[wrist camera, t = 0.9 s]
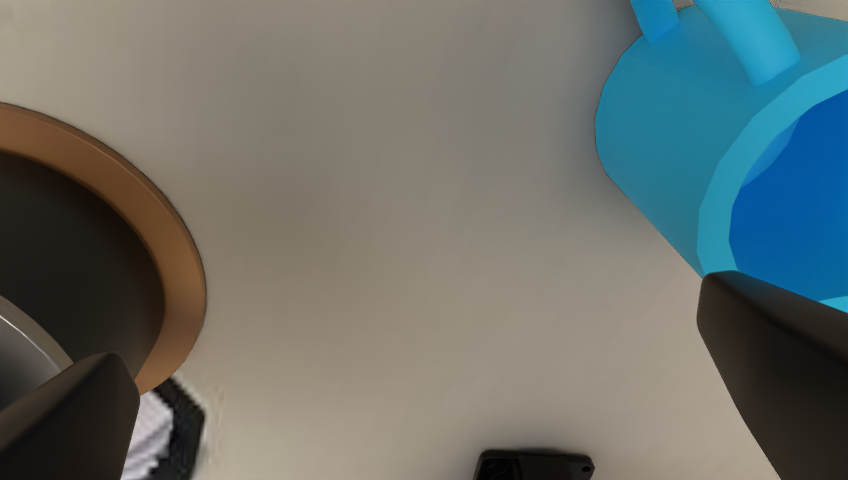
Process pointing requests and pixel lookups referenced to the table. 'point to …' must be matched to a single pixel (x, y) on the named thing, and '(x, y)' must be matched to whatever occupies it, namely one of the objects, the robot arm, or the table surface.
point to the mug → (737, 139)
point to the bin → (67, 279)
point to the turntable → (141, 212)
